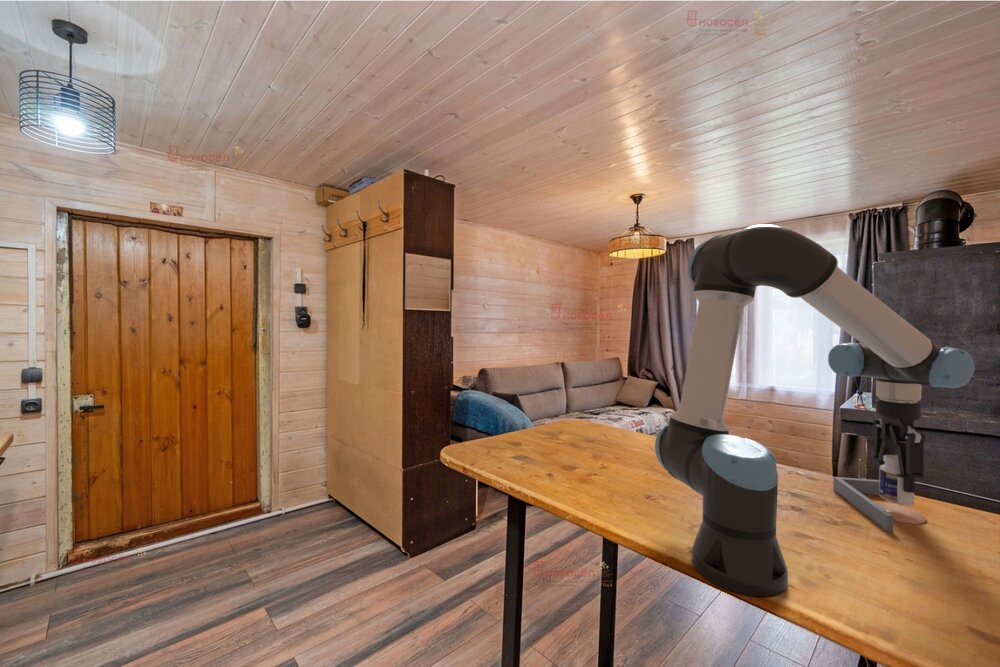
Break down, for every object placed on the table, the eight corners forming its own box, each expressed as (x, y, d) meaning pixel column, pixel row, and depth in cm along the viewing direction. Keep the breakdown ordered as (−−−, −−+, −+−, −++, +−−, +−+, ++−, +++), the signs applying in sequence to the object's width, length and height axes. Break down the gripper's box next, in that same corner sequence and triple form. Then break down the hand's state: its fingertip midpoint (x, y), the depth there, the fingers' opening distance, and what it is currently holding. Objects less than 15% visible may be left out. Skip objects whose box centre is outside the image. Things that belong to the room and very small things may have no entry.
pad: (938, 526, 90) (938, 524, 90) (883, 521, 92) (883, 519, 92) (906, 505, 99) (906, 504, 99) (857, 501, 102) (857, 500, 102)
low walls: (945, 537, 85) (946, 520, 85) (886, 531, 88) (886, 515, 88) (879, 493, 106) (880, 480, 106) (833, 489, 109) (833, 476, 109)
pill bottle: (884, 502, 94) (885, 459, 94) (875, 493, 99) (876, 452, 99) (918, 507, 92) (919, 463, 91) (907, 497, 97) (908, 455, 96)
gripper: (951, 409, 85) (947, 519, 86) (891, 392, 103) (889, 484, 104) (906, 408, 87) (903, 516, 87) (855, 391, 105) (853, 481, 106)
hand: (895, 498), depth 96 cm, fingers closed on pill bottle, 6 cm apart
